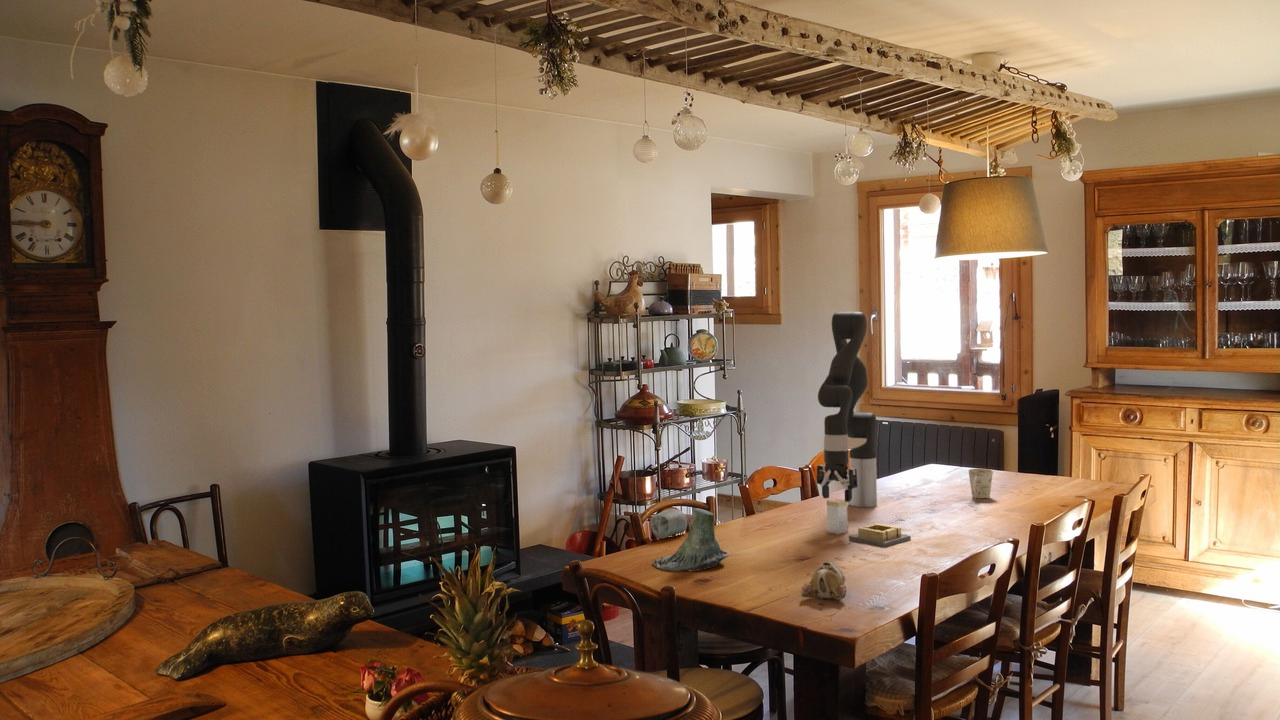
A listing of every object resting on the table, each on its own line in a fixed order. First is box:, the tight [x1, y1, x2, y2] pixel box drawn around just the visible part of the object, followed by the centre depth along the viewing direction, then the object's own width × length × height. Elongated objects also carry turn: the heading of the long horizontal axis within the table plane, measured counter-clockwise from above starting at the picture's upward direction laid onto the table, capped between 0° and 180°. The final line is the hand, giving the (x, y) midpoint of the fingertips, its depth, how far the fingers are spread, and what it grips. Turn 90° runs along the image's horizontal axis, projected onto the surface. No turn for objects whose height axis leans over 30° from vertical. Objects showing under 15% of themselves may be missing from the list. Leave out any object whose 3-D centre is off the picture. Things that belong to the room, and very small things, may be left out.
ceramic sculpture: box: [800, 559, 847, 601], centre depth 238 cm, size 11×9×15 cm
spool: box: [649, 508, 688, 540], centre depth 308 cm, size 14×10×10 cm
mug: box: [968, 468, 994, 499], centre depth 355 cm, size 8×13×10 cm, turn 148°
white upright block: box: [826, 498, 849, 535], centre depth 307 cm, size 5×5×10 cm
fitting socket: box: [848, 522, 911, 548], centre depth 295 cm, size 13×13×4 cm
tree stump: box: [652, 507, 729, 572], centre depth 273 cm, size 18×20×18 cm
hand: (836, 499), depth 307 cm, fingers open, 8 cm apart
